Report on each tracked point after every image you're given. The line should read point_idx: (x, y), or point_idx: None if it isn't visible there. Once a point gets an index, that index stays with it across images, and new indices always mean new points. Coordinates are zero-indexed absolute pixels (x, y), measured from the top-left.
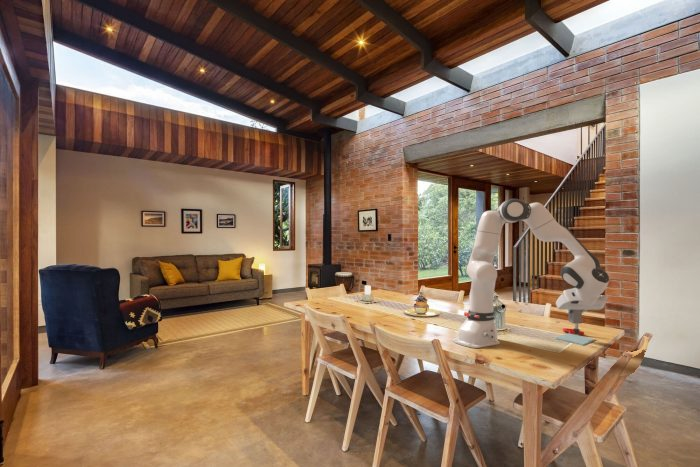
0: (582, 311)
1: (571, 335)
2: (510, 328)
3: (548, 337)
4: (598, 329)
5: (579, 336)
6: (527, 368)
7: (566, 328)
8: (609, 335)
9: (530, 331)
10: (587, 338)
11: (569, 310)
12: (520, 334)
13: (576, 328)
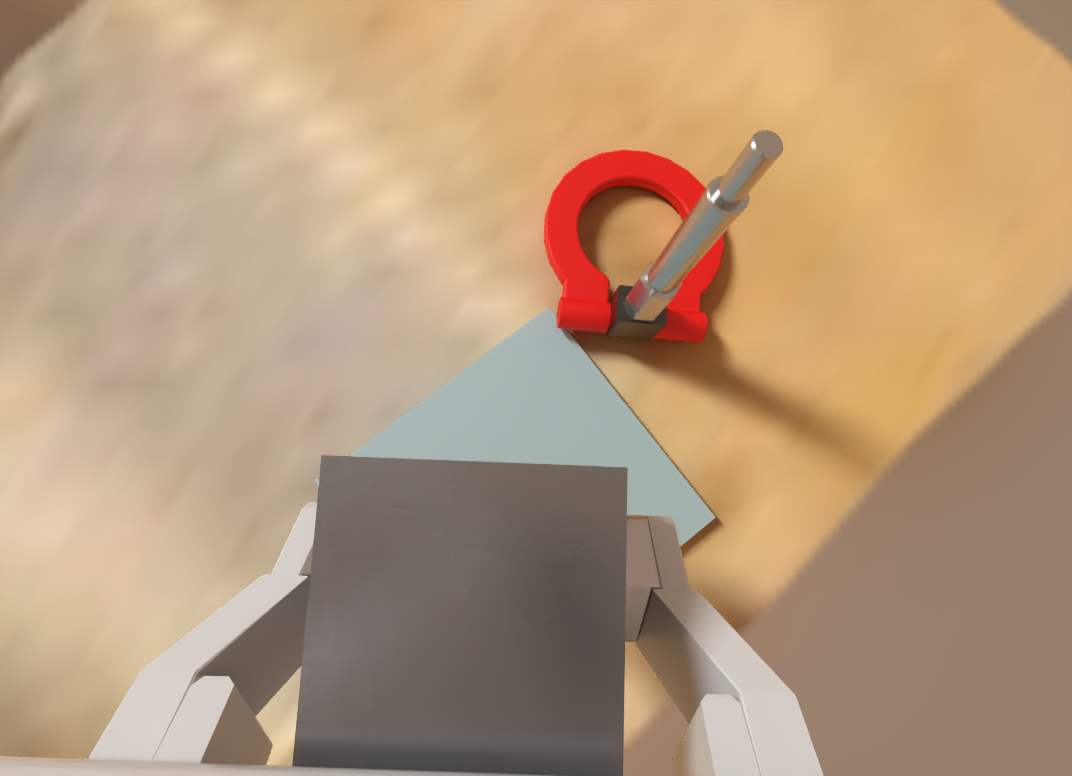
0: (634, 638)
1: (534, 392)
2: (39, 104)
3: (270, 425)
4: (965, 130)
5: (601, 426)
6: None
7: (616, 154)
8: (957, 338)
9: (199, 211)
10: (645, 499)
11: (260, 699)
12: (23, 323)
13: (633, 319)
